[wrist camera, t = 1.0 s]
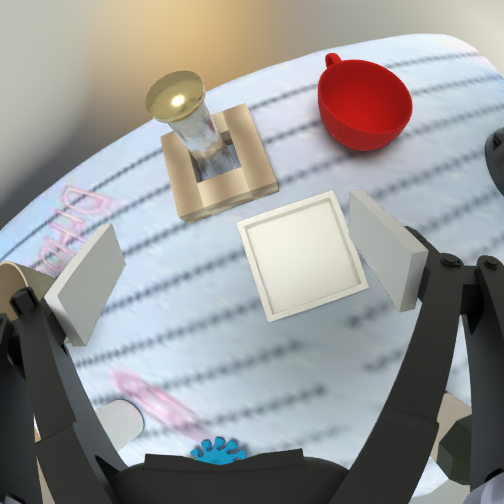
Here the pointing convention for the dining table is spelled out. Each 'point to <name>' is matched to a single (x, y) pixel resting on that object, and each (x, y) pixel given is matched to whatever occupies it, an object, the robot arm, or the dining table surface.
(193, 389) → the dining table surface
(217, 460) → the gear
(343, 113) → the ceramic cup
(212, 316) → the dining table surface
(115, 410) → the can
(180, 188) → the socket block
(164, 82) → the pin
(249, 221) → the tray
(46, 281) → the plant pot
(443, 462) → the wine bottle
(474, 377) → the robot arm
